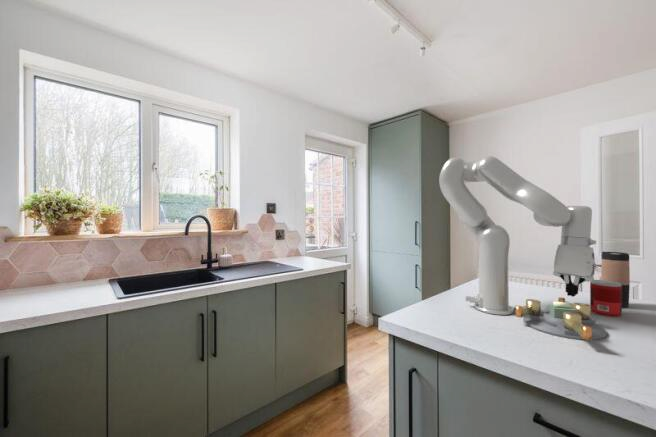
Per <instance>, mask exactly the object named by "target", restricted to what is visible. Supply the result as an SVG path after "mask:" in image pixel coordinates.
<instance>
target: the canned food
mask: <svg viewBox="0 0 656 437" xmlns="http://www.w3.org/2000/svg"><path fill="white" fill-rule="evenodd" d="M589 284H590V285H589V287H590V288H589V292H590V293H589V294H590V295H589V296H590V299H589V300H590V304H589V305H590V312H592V313H593V314H596V315H599V316H604V317H605V316H606V317H611V318H612V317H613V318H614V317H615V318H616V317H621V316H622V314H623V313H622V312H623V311H622V310H623V308H622V285H621V283H618V282H613V281H606V280H601V279H594V281H592V282H590V283H589Z"/></svg>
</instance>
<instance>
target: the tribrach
mask: <svg viewBox="0 0 656 437" xmlns="http://www.w3.org/2000/svg"><path fill="white" fill-rule="evenodd" d="M566 302H567V301H566ZM566 302H558V301H552V304H549V311H546V312H541V314H540V315H533V314H529V315H526V316H523V317H522V321H523V323H524V324H525V325H526V326H528V327H530V328H532V329H534V330H536V331H539V332H541V333H544V334H547V335H551V336H556V337H559V338H564V339H570V340H578V341H586V340H585V339H583V338H582V337H581V336H580V335H579V334H578V333H577V332H575V331H574V330H569V329H566V328H564V327H563V312H573V313H574V310H573V309H572V308H571V305H570V303H571V302H569V303H566ZM596 322H597V321H596V319H592V318H590V319H589V320H585V319H581V323H582V324H583V325H586V326H590V327H591V328H592V340H591V341H598V340H603V339H605V338H606V336H607V331H606V330H605V329H604V328H603V327H602V326H600V325H598V324H596Z"/></svg>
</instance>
